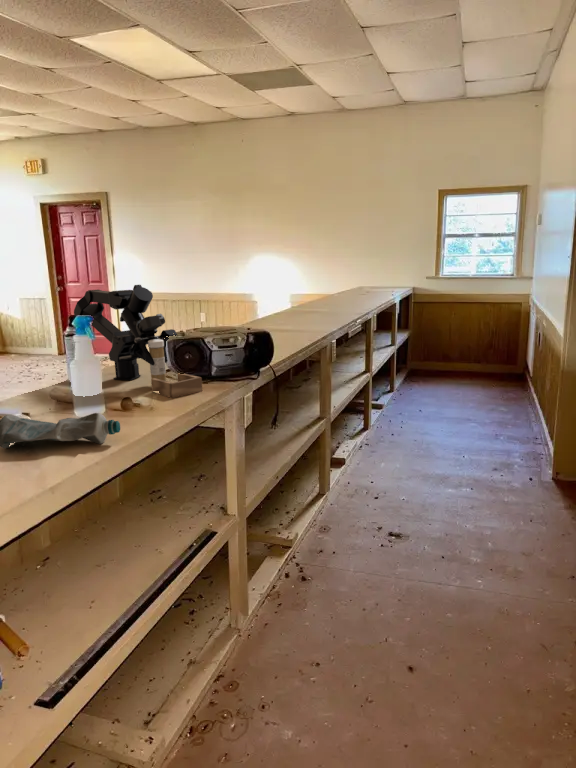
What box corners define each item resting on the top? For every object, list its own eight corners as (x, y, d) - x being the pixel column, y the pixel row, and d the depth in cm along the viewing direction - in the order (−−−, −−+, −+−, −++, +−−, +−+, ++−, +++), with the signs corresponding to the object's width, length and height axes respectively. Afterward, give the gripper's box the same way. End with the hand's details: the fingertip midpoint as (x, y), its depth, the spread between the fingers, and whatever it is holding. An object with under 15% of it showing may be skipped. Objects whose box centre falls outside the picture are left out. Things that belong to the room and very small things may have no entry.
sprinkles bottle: (162, 381, 170) (159, 338, 167) (169, 384, 167) (166, 340, 164) (148, 384, 167) (145, 340, 164) (155, 386, 164) (151, 341, 161)
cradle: (152, 392, 161) (151, 378, 160) (181, 385, 168) (180, 372, 167) (172, 398, 154) (171, 384, 153) (202, 390, 161) (201, 377, 161)
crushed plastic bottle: (-13, 456, 112) (109, 452, 112) (-17, 421, 111) (106, 417, 111) (19, 439, 125) (129, 436, 125) (16, 408, 124) (126, 405, 124)
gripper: (117, 308, 158) (142, 351, 153) (172, 303, 171) (196, 342, 166) (105, 333, 165) (129, 374, 160) (159, 326, 178) (181, 364, 173)
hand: (160, 363), depth 165 cm, fingers closed on sprinkles bottle, 4 cm apart
